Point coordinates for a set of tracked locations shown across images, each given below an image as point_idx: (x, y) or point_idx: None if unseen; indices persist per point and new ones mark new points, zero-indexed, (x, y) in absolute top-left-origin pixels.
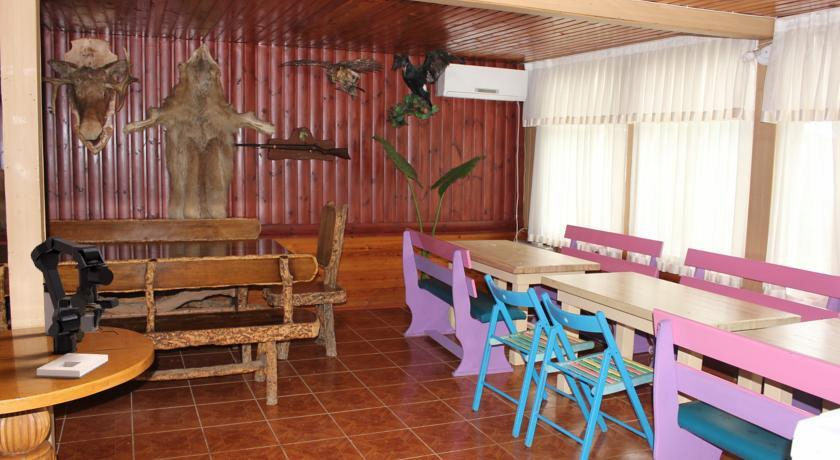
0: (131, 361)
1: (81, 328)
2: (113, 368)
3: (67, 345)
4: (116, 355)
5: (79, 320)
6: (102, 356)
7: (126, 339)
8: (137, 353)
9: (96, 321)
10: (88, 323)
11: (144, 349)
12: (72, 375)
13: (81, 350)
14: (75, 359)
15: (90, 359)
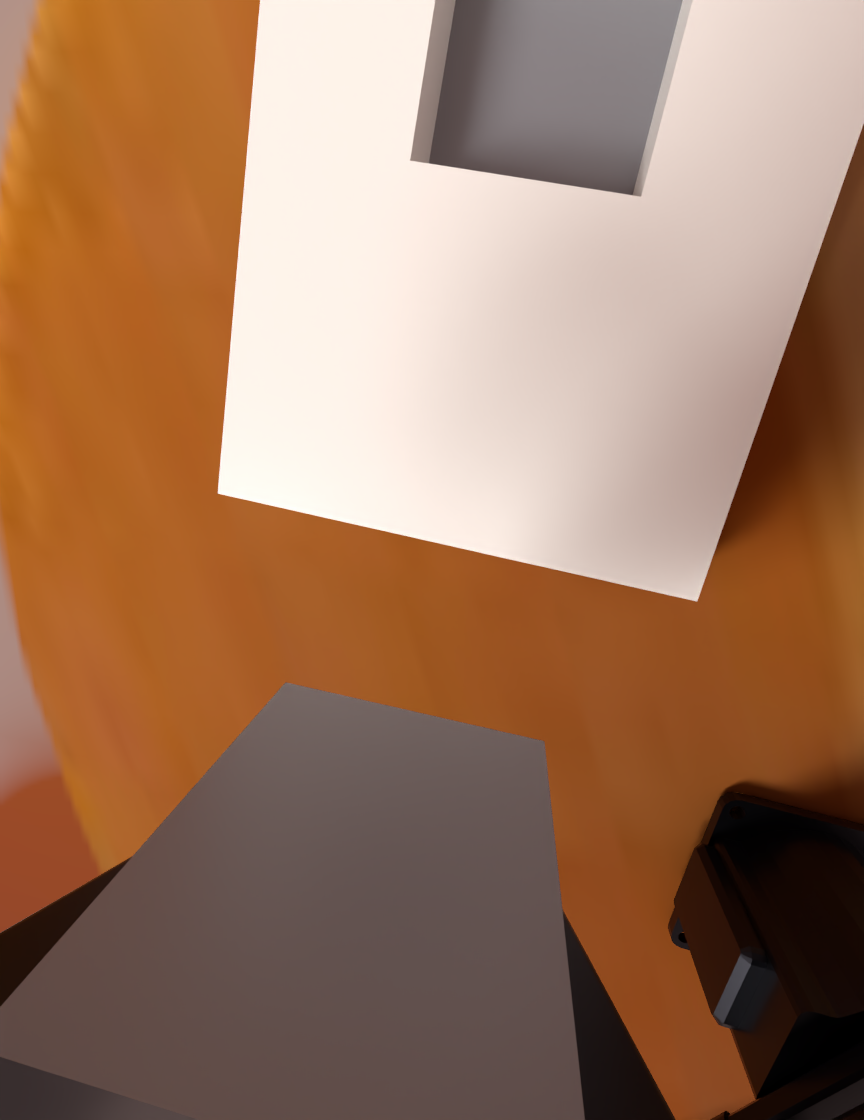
0: (59, 483)
1: (533, 784)
2: (123, 242)
3: (775, 896)
4: (258, 691)
5: (652, 1108)
6: (247, 422)
7: None
8: (110, 726)
9: (50, 909)
10: (296, 845)
11: (102, 830)
12: None
13: (624, 896)
14: (524, 299)
15: (338, 289)
